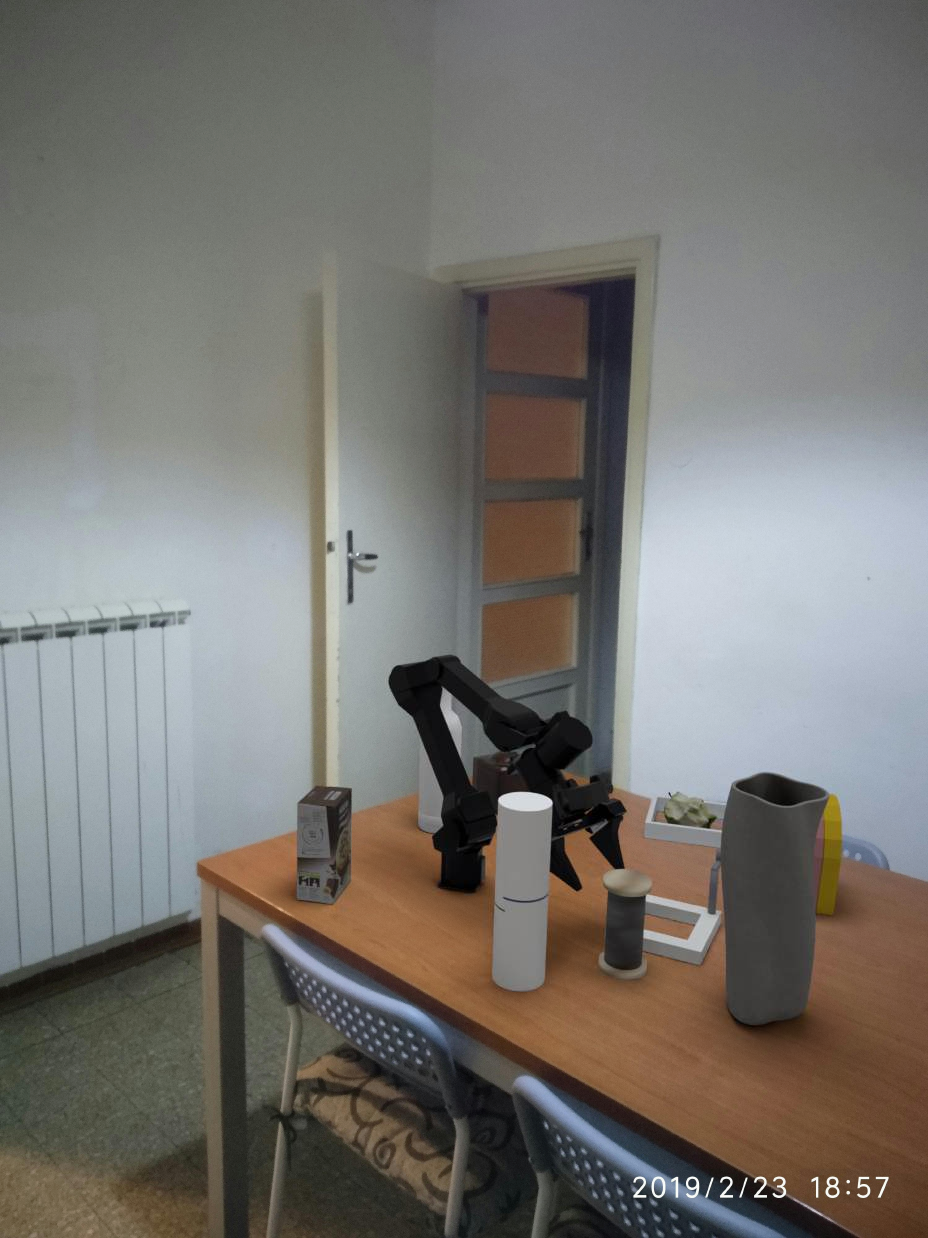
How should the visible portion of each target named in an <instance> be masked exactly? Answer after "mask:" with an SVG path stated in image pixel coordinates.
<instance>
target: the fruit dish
mask: <svg viewBox="0 0 928 1238" xmlns="http://www.w3.org/2000/svg"><path fill="white" fill-rule="evenodd" d="M670 799H671V797H670V796H669V795H668V796H667V795H660V794H659V795H657V794H653V795H652V797H651V800H650V805H649V807H648V812H647V814H646V819H645V823H644V835H643V837H644V838H645V839H651V840H657V841H666V842H671V843H673V842H674V843H681V844H689V845H697V846H703V847H711V848H716V849H721V834H722V829H720V830H719V829H712V828H710V829H706V828H698V827H691V826H683V825H675V824H668V822H667V823H666V822H658V821H655V819H656V815H657V812H662V813H664V807H665V805H666V803H667V802H668V801H669V800H670ZM703 801H704V803H705V805H706V806H707V809H708V810H709V811H710V812H712V813H713V814H714V815H716V816H717V818H716V819H718V820H723V819H724V813H725V808H726V804H727V802H726V803H724V802H716V801H710V800H703Z"/></svg>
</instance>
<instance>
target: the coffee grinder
mask: <svg viewBox="0 0 928 1238" xmlns="http://www.w3.org/2000/svg"><path fill="white" fill-rule="evenodd" d="M551 718H552V717H548V718H546V719H544V720H545V721H547V722H549V721H550V720H551ZM520 754H521V753H520V752H517V751H516V750H513V751H509V752H501V751H500V750H498V751H497V752H494V753H489V754H484V755H478V756H473V759H472V781H471V782H472V783H471V785H472V786H473V787H474V788H475V789H476V790H478V791H479V792H481V791H485V790H486V791H487V792H488V794H489V795H490V799H491V802H492V805H493V807H494V809H495V810H496V811H497V813H496V814H495V815H496V816H498V799H499V798H500V797H501V796H502V795H505V794H508V793H514V792H529V791H528V789H527V787H526V786H525V784H524V782H523V780H522V778H521V777H520V775H519V773H516V774H513V775H508V774H507V768H508V765H509V762H510V760H509V758H510V757H512V756H516V755H520Z"/></svg>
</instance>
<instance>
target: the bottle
mask: <svg viewBox="0 0 928 1238" xmlns="http://www.w3.org/2000/svg"><path fill="white" fill-rule="evenodd" d="M442 688H443V691H442V697H441V703H440V707H441V710H442V712H443V715H444V717H445V720H446V722H447V725H448V727H449V730H450V733H451V735H452V738H453V740H454V743H455V745H456V748H457V750H458V753H459V755H460V758H461V759H462V741H463V740H462V738H463V737H462V736H463V735H462V733H463V732H462V730H463V727H462V723H461V720H460V717H459V716H458V715H457V713H455V711H453V710H452V699H453V698H452V696H453V695H451V694H450V693H449V692H448V691H447V690H446V689H445V688H444V687H442ZM418 773H419V774H418V775H419V777H418V778H419V779H418V783H419V784H418V809H417V810H418V811H417V819H418V820H417V821H418V824H417V825H418V828H419V829H421V830H422V831H423V832H426V833H429V834H433V835H434V834H435V833H436V832H437V831H438V830H439V829H440V828H441V827H442V826H443V823H442V819H441V810H442V803H443V794H442V792H441V789H440V787H439V784H438V781H437V779H436V776H435V774H434V771H433V768H432V766H431V763H430V761H429V758H428V755H427V753H426V750H425V748H424V745H423V742H422V740H421V737H420V736H419V772H418Z"/></svg>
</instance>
